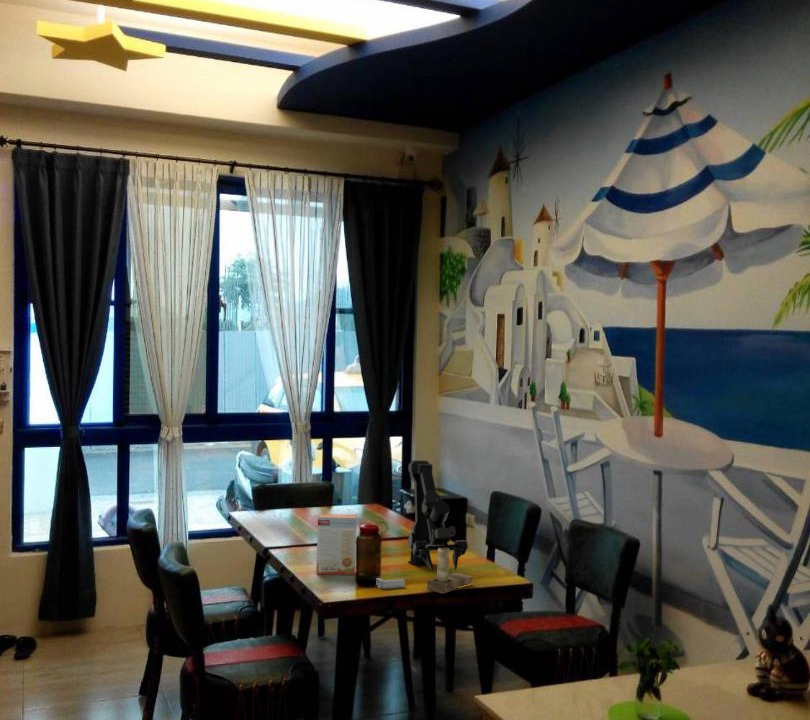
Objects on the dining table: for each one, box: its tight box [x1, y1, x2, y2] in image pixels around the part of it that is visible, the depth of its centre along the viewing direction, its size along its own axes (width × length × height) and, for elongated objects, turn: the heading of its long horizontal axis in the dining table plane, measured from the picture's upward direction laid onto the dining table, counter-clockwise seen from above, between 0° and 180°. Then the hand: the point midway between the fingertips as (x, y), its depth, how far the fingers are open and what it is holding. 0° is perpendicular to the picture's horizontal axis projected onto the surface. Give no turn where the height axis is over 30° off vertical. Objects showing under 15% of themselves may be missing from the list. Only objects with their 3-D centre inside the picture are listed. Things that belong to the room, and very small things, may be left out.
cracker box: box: [315, 513, 358, 576], centre depth 310 cm, size 14×6×21 cm, turn 92°
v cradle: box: [375, 577, 406, 590], centre depth 296 cm, size 7×12×2 cm, turn 70°
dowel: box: [436, 547, 451, 583], centre depth 295 cm, size 4×4×14 cm
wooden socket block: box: [426, 572, 473, 594], centre depth 298 cm, size 16×7×3 cm, turn 137°
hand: (444, 569), depth 294 cm, fingers open, 8 cm apart
